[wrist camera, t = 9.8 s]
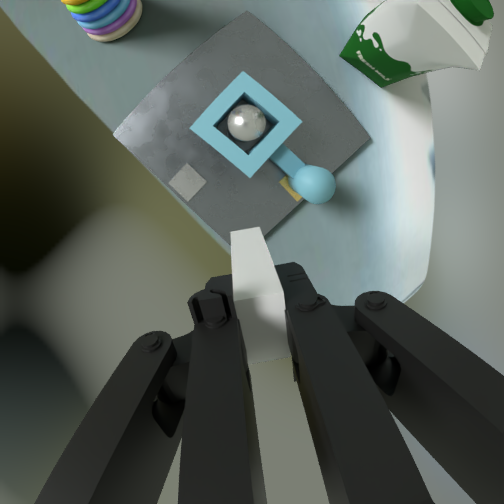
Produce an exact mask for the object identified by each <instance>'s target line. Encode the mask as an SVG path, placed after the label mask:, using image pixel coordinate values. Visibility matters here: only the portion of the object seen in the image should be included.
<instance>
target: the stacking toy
mask: <svg viewBox="0 0 504 504" xmlns="http://www.w3.org/2000/svg"><path fill="white" fill-rule="evenodd" d="M61 1H62V2H63V3H64V4H66V6H67V8H68V10H69V11H70V12H71V14H72V16H73V18H74V19H75V20H77V22H78V24H79V25H80V26H81V27H82V28H83V29H84V30H85V31H86V32H87V34H88V36H89V37H90V38H92V39H93V40H96V41H100V42H107V41H112V40H115V39H118V38H120V37H122V36H123V35H125V34H126V33H128V32H129V31H130V30H131V29H132V28H133V27H134V26H135V25H136V24H137V22H138V21H139V19H140V17H141V14H142V3H141V1H140V0H61Z"/></svg>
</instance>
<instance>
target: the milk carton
mask: <svg viewBox="0 0 504 504" xmlns="http://www.w3.org/2000/svg"><path fill="white" fill-rule="evenodd" d="M493 16H494V13H493V8H492V6H491V4H490V2H489V0H385V1H384V2H383V3H381V4H380V5H379V6H377V7H376V8H375V9H373V10H372V11H371V12H370V13H368V14H367V15H366V16H365V17H364V19H363V20H362V21H361V23H360V24H359V25H358V27H357V28H356V30H355V31H354V33H353V34H352V36H351V38H350V39H349V41H348V42H347V44H346V46H345V47H344V49H343V50H342V52H341V54H340V55H339V56H340V57H342V58H343V59H344V60H346V61H347V62H349V63H350V64H351V65H353V66H354V67H355V68H357V69H358V70H359V71H361V72H362V73H363V74H365V75H366V76H367V77H369V78H370V79H371V80H372V81H374V82H375V83H376V84H377V85H378V86H380V87H381V88H382V87H385V86H387V85H390V84H392V83H395V82H398V81H400V80H403V79H406V78H408V77H412V76H415V75H419V74H423V73H427V72H431V71H436V70H440V69H445V68H450V67H458V68H466V69H474V70H480V69H481V66H482V63H483V60H484V56H485V55H486V54H487V51H488V45H489V41H490V35H491V31H492V24H491V23H490V22H489V20H488V19H492V18H493Z"/></svg>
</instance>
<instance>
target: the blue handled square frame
mask: <svg viewBox="0 0 504 504" xmlns="http://www.w3.org/2000/svg"><path fill="white" fill-rule="evenodd" d="M242 99H243V100H245V101H246V102H247V103H248V104H249V105H252V106H255V107H257V108H258V109H260V110H261V111H262V113H263V114H264V116H265V118H266V119H267V120H268V121H269V122H271V123H272V124H273V126H272V127H271V128H270V129H269V130H268V131H267V132H266V133H265V134H264V136H263V137H262V138H261V139H260V140H259V141H258V142H257V143H256V144H255V145H254V146H253V147H252V149H251V150H250V151H249V152H248V153H247V154H246V153H245V152H244V151H243V150H242V149H240V148H239V147H238V146H237V145H236V144H234V143H233V142H232V141H231V140H230V139H228V138H227V137H226V136H225V135H223V134H222V133H221V132H220V131H219V130H217V129H216V127H217V126H218V125H219V123H220V122H221V121H222V120H223V119H224V118H225V117H226V116H227V115H228V114H229V113H230V111H231V110H232V109H233V108H234V107H235V106H236V105H237V104H238V103H239V102H240V101H241V100H242ZM301 123H302V121H301V120H300V119H299V118H298V117H297V116H296V115H295V114H294V113H293V112H291V111H290V110H289V109H288V108H287V107H286V106H285V105H284V104H283V103H281V102H280V101H279V100H278V99H277V98H276V97H274V96H273V95H272V94H271V93H270V92H269V91H267V90H266V89H265V88H264V87H263V86H261V85H260V84H259V83H258V82H256V81H255V80H254V79H253V78H251V77H250V76H249V75H248V74H246V73H245V72H244V71H243V72H241V73H240V74H239V75H238V76H237V77H236V78H235V79H234V80H233V81H232V82H231V83H230V84H229V85H228V86H227V88H226V89H225V90H224V91H223V92H222V93H221V94H220V95H219V96H218V97H217V98H216V99H215V100H214V101H213V102H212V103H211V104H210V106H209V107H208V108H207V109H206V110H205V111H204V112H203V113H202V114H201V116H200V117H199V118H198V119H197V120H196V121H195V122H194V123H193V125H192V126H191V127H190V128H189V129H191V130H192V131H193V132H195V133H196V134H197V135H198V136H200V137H201V138H202V139H203V140H205V141H206V142H207V143H208V144H210V145H211V146H212V147H213V148H215V149H216V150H217V151H218V152H219V153H221V154H222V155H223V156H224V157H225V158H227V159H228V160H229V161H230V162H232V163H233V164H234V165H235V166H236V167H237V168H239V169H240V170H241V171H242V172H243V173H245V174H246V175H247V176H248V177H249V178H251V177H252V176H253V174H254V173H255V172H256V171H257V170H258V169H259V168H260V167H261V166H262V164H263V163H264V162H265V161H266V160H267V159H268V158H269V159H270V160H271V161H273V162H274V163H275V164H276V165H277V166H278V167H279V168H280V169H281V170H283V171H284V172H285V173H286V174H287V175H288V184H289V186H290V187H291V189H292V190H293V191H295V192H296V193H298V194H299V195H300V196H302V197H303V198H304V199H306V200H307V201H309V202H311V203H313V204H322V203H325V202H327V201H328V200H329V199H331V197H332V196H333V194H334V192H335V188H336V183H335V179H334V177H333V175H332V174H331V172H329V171H328V170H327V169H324V168H321V167H317V166H313V165H309V164H305V163H303V162H302V161H301V160H300V159H299V158H298V157H297V156H296V155H295V154H294V153H293V152H292V151H291V150H289V149H288V148H287V147H286V146H285V145H284V144H283V142H284V141H285V140H286V139H287V137H288V136H289V135H290V134H291V133H292V132H293V131H294V130H295V129H296V128H297V127H298V126H299V125H300V124H301Z"/></svg>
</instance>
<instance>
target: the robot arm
mask: <svg viewBox="0 0 504 504" xmlns="http://www.w3.org/2000/svg"><path fill="white" fill-rule="evenodd" d="M230 233H231V258H232V274H229V275H223V276H217V277H212V278H210V280H209V281H208V282H207V283H206V286H205V289H204V290H201V291H199V292H197V293H195V294H194V295H193V296H191V297H190V299H189V301H188V302H187V303H188V306H189V309H190V312H191V315H192V318H193V321H194V324H195V325H194V330H193V331H191V332H190V333H188V334H186V335H184V336H181V337H178V338H175V339H172V338H171V336H170V335H169V334H168V333H166V332H163V331H152V332H149V333H146V334H144V335H143V336H141V337H139V338H138V339H137V340H136V341H135V342H134V343H133V345H132V346H131V347H130V349H129V350H128V352H127V353H126V355H125V356H124V358H123V359H122V361H121V362H120V364H119V365H118V367H117V368H116V370H115V371H114V373H113V374H112V376H111V377H110V379H109V380H108V382H107V383H106V385H105V386H104V388H103V389H102V391H101V392H100V394H99V395H98V397H97V398H96V400H95V401H94V403H93V405H92V406H91V408H90V409H89V411H88V412H87V414H86V416H85V417H84V419H83V421H82V422H81V424H80V425H79V427H78V429H77V430H76V432H75V433H74V435H73V437H72V438H71V440H70V442H69V443H68V445H67V447H66V448H65V450H64V452H63V453H62V455H61V457H60V458H59V460H58V462H57V464H56V465H55V467H54V469H53V471H52V472H51V474H50V476H49V478H48V480H47V482H46V483H45V485H44V487H43V489H42V490H41V492H40V494H39V496H38V498H37V500H36V502H35V504H157V502H158V499H159V496H160V494H161V491H162V489H163V486H164V483H165V480H166V478H167V475H168V473H169V470H170V467H171V465H172V462H173V459H174V456H175V454H176V451H177V448H178V446H179V443H180V440H181V438H182V445H181V458H180V474H179V492H178V504H267V499H266V492H265V485H264V477H263V470H262V463H261V456H260V448H259V440H258V432H257V424H256V417H255V408H254V400H253V392H252V384H251V375H250V371H249V368H248V364H255V363H260V362H267V361H272V360H277V359H283V358H288V357H291V356H290V352H291V355H292V363H293V374H294V381H297V384H298V388H299V391H300V395H301V399H302V402H303V406H304V409H305V413H306V417H307V421H308V424H309V428H310V432H311V435H312V439H313V443H314V447H315V450H316V454H317V457H318V462H319V465H320V469H321V473H322V476H323V480H324V484H325V488H326V491H327V496H328V499H329V503H330V504H435V503H434V502H433V500H432V499H431V497H430V494H429V492H428V490H427V488H426V485H425V483H424V481H423V479H422V476H421V474H420V472H419V470H418V468H417V466H416V464H415V461H414V459H413V457H412V455H411V453H410V451H409V449H408V447H407V445H406V443H405V441H404V439H403V437H402V435H401V433H400V431H399V429H398V427H397V425H396V423H395V421H394V419H393V417H392V415H391V413H390V411H391V412H392V413H393V415H395V417H396V418H397V419H398V420H399V421H400V422H401V423H402V424H403V425H404V426H405V428H406V429H407V430H408V431H409V432H410V433H411V434H412V435H413V436H414V437H415V438H416V439H417V441H419V443H420V444H421V445H422V446H423V447H424V448H425V449H426V450H427V451H428V452H429V453H430V455H432V457H433V458H435V460H436V461H437V462H438V463H439V464H440V465H441V466H442V467H443V468H444V470H445V471H446V472H447V473H448V474H449V475H450V476H451V477H452V478H453V479H454V480H455V481H456V482H457V483H458V485H459V486H460V487H461V488H462V489H463V490H464V491H465V492H466V493H467V494H468V495H469V496H470V497H471V498H472V499H473V501H475V503H476V504H504V376H503V375H502V374H501V373H499V372H498V371H497V370H495V369H494V368H492V367H491V366H490V365H489V364H487V363H486V362H485V361H483V360H482V359H481V358H480V357H478V356H477V355H475V354H474V353H473V352H471V351H470V350H469V349H467V348H466V347H464V346H463V345H462V344H460V343H459V342H458V341H456V340H455V339H453V338H452V337H450V336H449V335H448V334H447V333H445V332H444V331H442V330H441V329H440V328H438V327H437V326H435V325H434V324H432V323H431V322H430V321H428V320H427V319H425V318H424V317H422V316H420V315H419V314H418V313H416V312H415V311H414V310H412V309H411V308H409V307H408V306H406V305H405V304H403V303H402V302H400V301H399V300H397V299H396V298H394V297H393V296H391V295H389V294H387V293H385V292H380V291H369V292H366V293H362V294H361V295H359V296H358V297H357V298H356V300H355V306H336V305H331V304H330V302H329V300H328V299H327V298H326V297H325V296H322V295H320V294H317V292H316V290H315V289H314V287H313V285H312V283H311V281H310V280H309V279H308V276H307V274H306V273H305V271H304V269H303V267H302V266H301V265H299V264H297V263H295V262H291V263H286V264H280V265H275V266H274V264H273V262H272V259H271V256H270V253H269V251H268V248H267V245H266V243H265V240H264V237H263V235H262V232H261V229H260V227H255V228H249V229H243V230H237V231H232V232H230ZM389 410H390V411H389Z"/></svg>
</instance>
